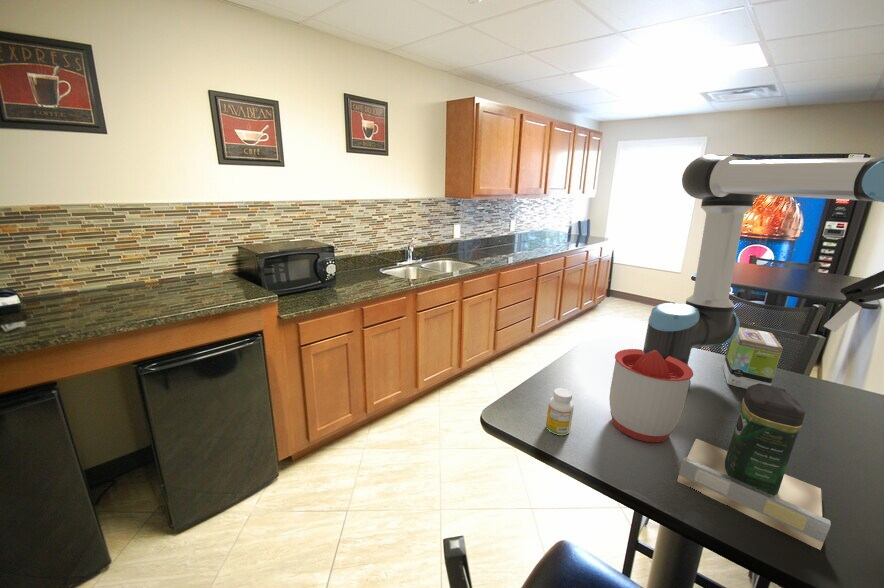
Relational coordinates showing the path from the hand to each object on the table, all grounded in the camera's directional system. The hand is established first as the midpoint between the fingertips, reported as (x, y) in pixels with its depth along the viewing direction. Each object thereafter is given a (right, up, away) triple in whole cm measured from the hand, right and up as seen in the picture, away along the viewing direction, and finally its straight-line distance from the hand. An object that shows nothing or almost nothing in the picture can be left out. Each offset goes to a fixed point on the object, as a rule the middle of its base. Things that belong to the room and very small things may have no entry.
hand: (863, 348), depth 72 cm
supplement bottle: (-54, -21, +15) cm, 60 cm away
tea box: (+12, -16, +44) cm, 48 cm away
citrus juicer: (-34, -21, +18) cm, 44 cm away
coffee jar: (-22, -25, 0) cm, 34 cm away
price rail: (-28, -26, -6) cm, 39 cm away
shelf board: (-23, -27, -1) cm, 35 cm away
